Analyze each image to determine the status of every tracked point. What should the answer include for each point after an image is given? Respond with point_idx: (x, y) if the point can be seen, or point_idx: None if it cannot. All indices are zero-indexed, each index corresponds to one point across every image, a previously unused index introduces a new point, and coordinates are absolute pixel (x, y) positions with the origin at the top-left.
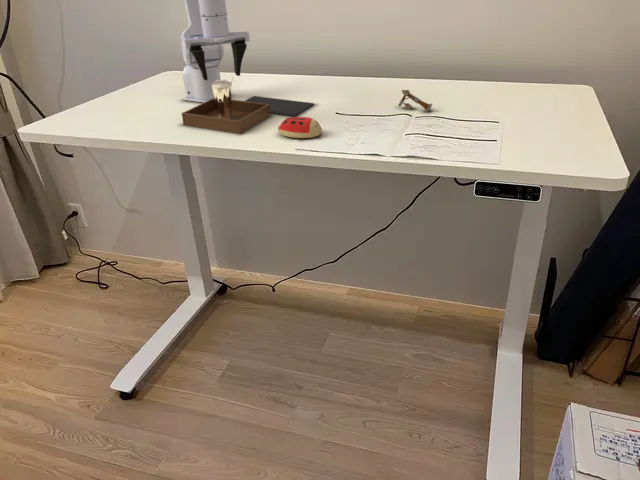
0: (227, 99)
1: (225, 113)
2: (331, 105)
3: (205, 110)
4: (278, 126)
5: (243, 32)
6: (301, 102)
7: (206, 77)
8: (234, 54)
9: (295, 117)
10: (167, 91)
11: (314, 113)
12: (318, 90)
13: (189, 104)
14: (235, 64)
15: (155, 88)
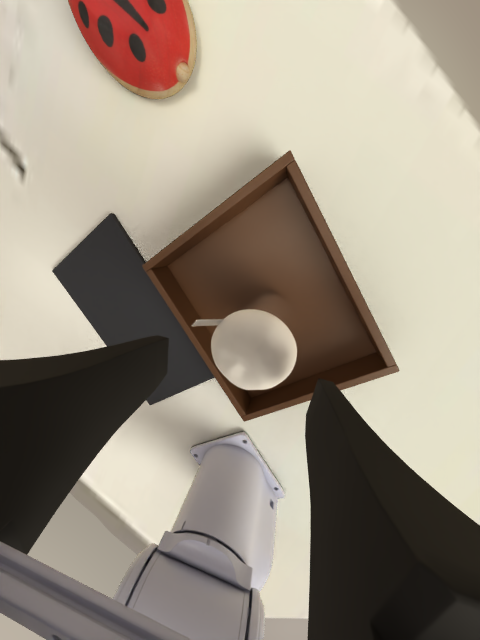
0: (257, 301)
1: (275, 296)
2: (23, 240)
3: (292, 387)
4: (183, 71)
5: None
6: (74, 295)
7: (327, 383)
8: (84, 432)
9: (111, 15)
10: (285, 555)
11: (67, 209)
12: (31, 350)
13: (287, 466)
14: (133, 386)
15: (296, 582)
